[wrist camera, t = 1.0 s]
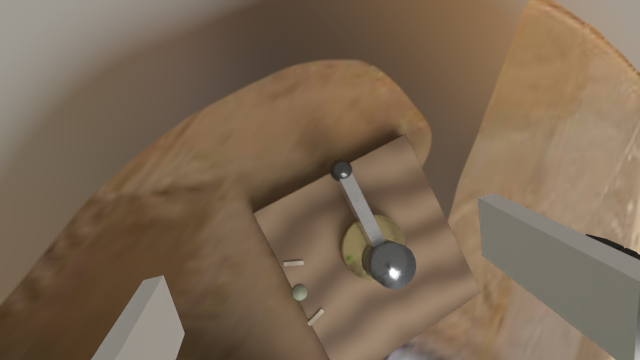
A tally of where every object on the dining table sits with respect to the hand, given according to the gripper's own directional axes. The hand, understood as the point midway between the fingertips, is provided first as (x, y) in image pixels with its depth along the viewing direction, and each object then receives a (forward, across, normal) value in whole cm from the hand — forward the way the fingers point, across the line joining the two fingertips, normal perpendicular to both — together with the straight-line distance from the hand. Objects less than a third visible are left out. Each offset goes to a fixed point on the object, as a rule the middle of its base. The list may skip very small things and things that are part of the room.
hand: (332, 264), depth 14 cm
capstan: (+27, -6, +10) cm, 29 cm away
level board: (+28, -7, +16) cm, 33 cm away
